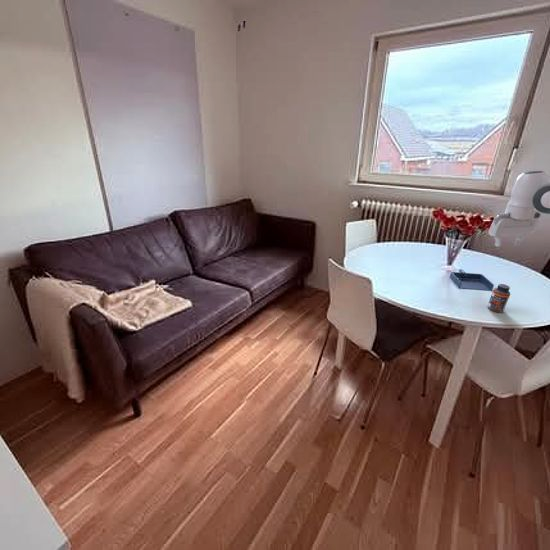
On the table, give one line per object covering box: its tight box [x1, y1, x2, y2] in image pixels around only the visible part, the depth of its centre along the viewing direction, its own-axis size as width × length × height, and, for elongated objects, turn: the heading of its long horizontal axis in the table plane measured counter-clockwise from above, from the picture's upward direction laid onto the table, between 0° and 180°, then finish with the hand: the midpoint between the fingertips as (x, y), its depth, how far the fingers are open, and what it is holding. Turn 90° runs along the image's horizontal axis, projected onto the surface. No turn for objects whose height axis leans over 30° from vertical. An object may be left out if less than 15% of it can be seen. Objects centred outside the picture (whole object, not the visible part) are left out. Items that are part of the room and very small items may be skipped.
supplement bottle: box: [487, 283, 511, 313], centre depth 130 cm, size 6×6×11 cm
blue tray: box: [449, 268, 495, 292], centre depth 158 cm, size 20×15×3 cm
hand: (506, 245), depth 131 cm, fingers open, 8 cm apart
